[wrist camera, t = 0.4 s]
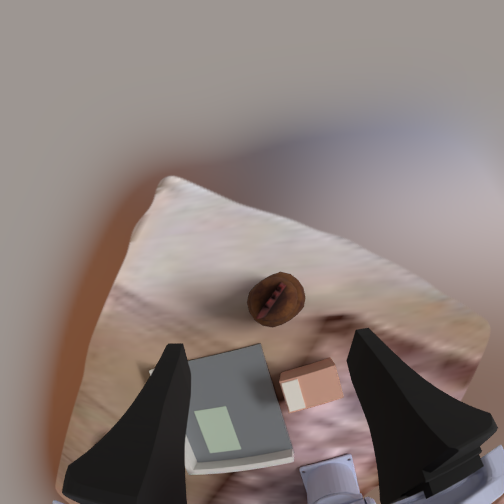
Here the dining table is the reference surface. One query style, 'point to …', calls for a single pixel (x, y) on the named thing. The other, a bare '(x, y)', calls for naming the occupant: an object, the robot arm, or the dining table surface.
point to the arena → (234, 415)
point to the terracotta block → (310, 385)
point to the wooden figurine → (276, 299)
